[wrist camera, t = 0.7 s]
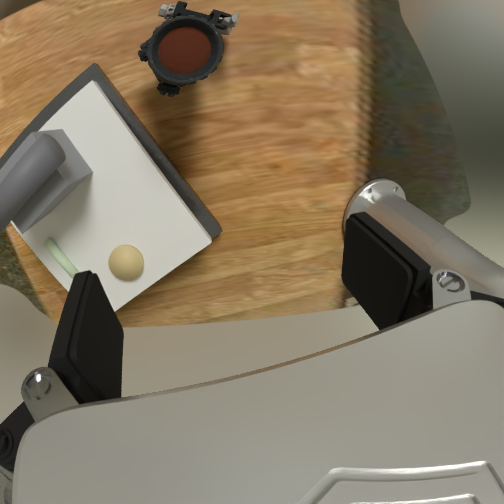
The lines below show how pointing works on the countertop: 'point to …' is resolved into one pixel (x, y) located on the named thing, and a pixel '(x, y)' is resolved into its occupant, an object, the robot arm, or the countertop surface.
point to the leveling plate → (96, 201)
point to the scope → (185, 46)
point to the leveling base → (137, 129)
